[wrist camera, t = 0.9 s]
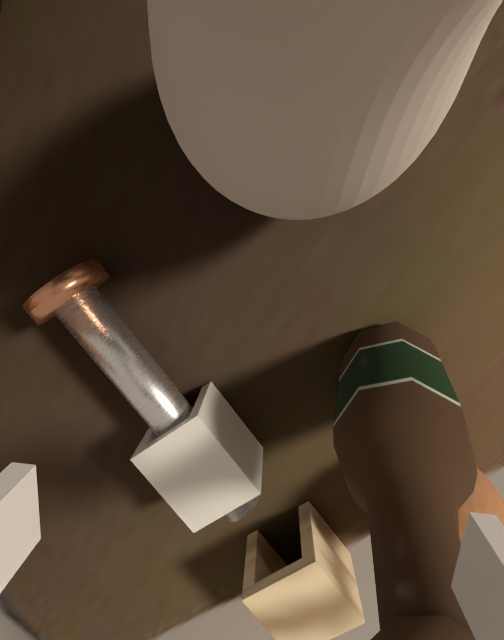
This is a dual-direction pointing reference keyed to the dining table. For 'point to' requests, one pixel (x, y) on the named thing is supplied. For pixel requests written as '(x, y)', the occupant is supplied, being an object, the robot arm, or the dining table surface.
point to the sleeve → (203, 461)
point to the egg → (481, 502)
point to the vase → (309, 92)
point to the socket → (303, 584)
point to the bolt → (114, 349)
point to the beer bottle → (406, 476)
